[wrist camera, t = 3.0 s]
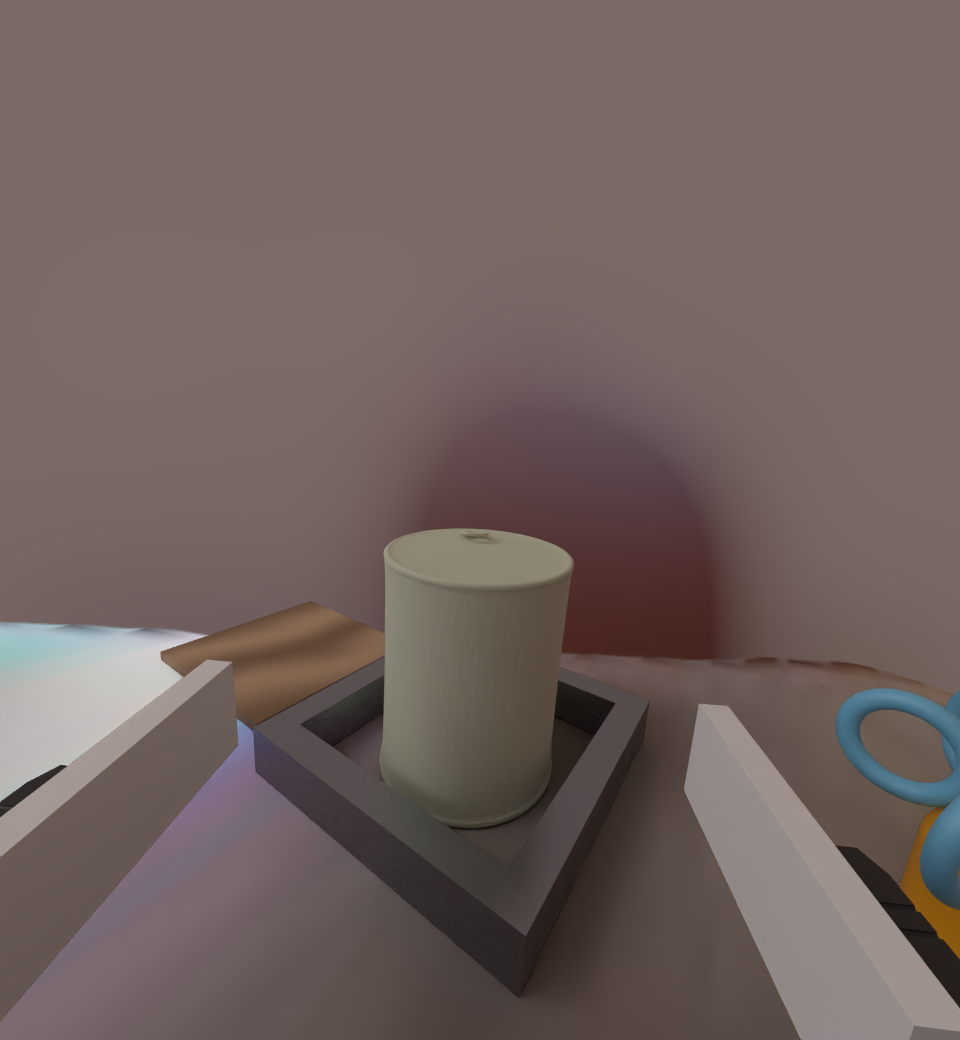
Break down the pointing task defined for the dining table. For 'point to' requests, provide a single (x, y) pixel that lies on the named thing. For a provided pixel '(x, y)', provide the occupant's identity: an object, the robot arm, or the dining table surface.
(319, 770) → the collar
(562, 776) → the dining table surface
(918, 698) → the orange tall piece
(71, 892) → the robot arm
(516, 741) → the can
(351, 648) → the pad
